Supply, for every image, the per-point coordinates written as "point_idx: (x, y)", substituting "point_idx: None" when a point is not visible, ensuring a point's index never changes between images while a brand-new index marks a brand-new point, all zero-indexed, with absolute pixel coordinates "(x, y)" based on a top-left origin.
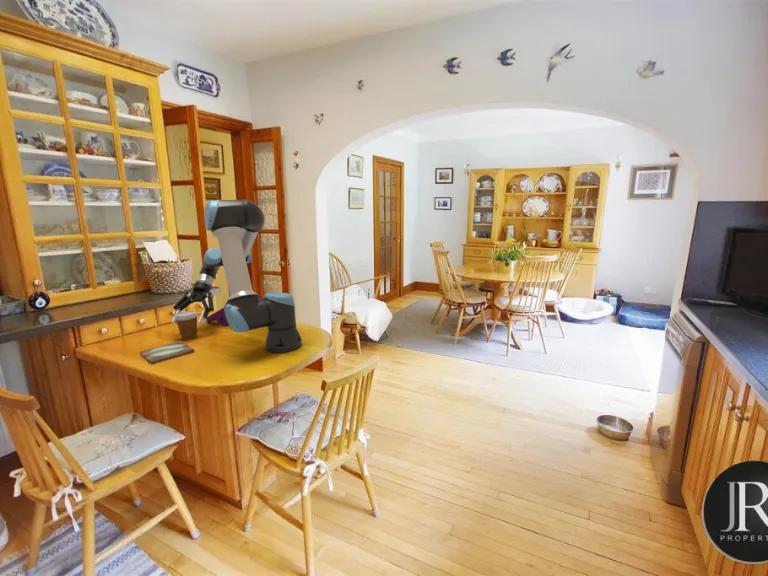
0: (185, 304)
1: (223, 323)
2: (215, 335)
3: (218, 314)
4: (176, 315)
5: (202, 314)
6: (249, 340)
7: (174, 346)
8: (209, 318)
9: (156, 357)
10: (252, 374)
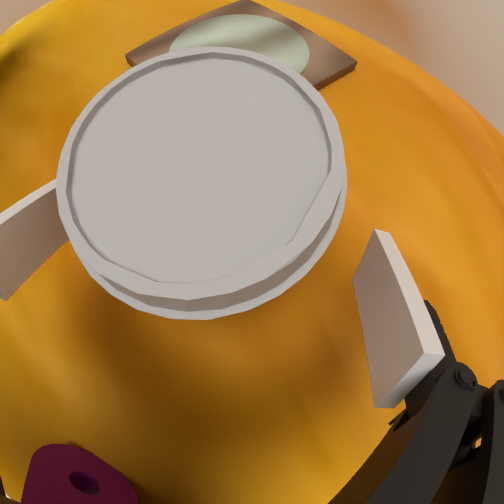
0: (357, 498)
1: (87, 462)
2: (71, 268)
3: None
4: (287, 72)
5: (19, 202)
6: None
7: None
8: None
9: (244, 12)
10: (24, 22)
